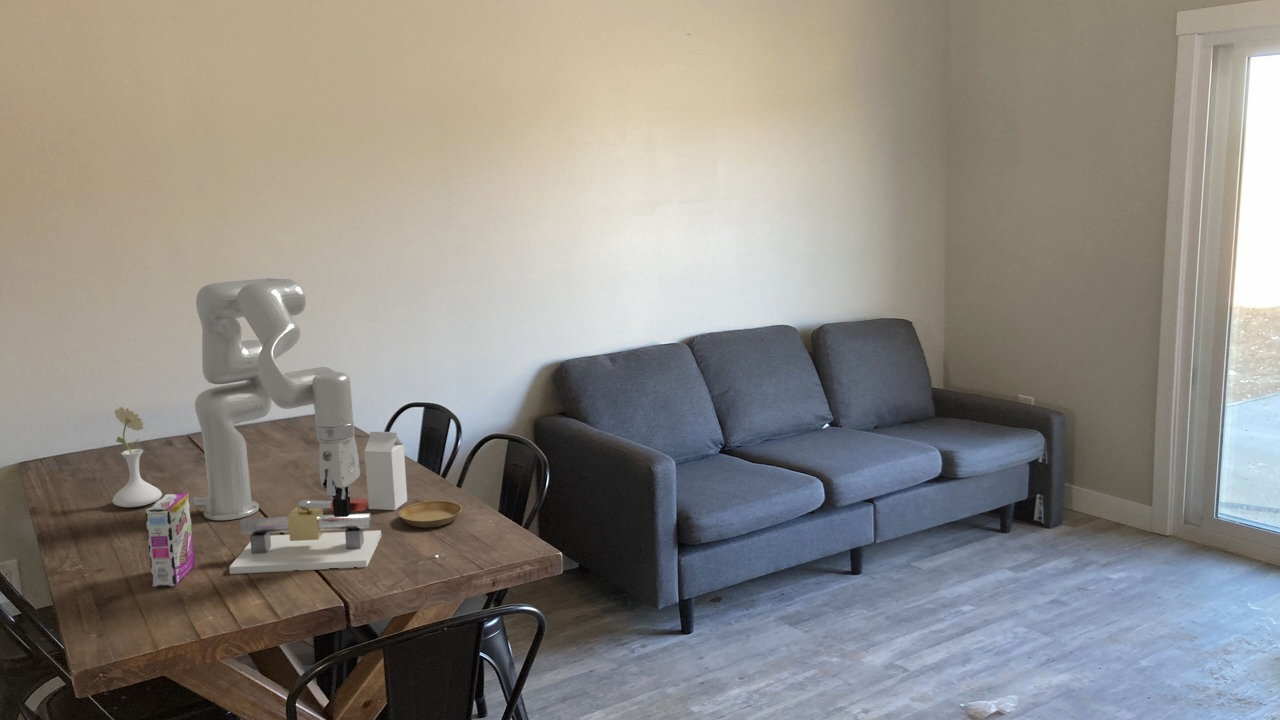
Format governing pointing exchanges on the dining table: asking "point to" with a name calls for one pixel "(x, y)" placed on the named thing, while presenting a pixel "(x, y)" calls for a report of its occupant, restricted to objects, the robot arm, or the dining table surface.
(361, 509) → the valve lever
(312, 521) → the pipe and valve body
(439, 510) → the plant saucer
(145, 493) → the flower in vase
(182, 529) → the candy bar box
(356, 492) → the dining table surface
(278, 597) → the dining table surface
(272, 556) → the valve board
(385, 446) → the milk carton
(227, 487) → the robot arm
